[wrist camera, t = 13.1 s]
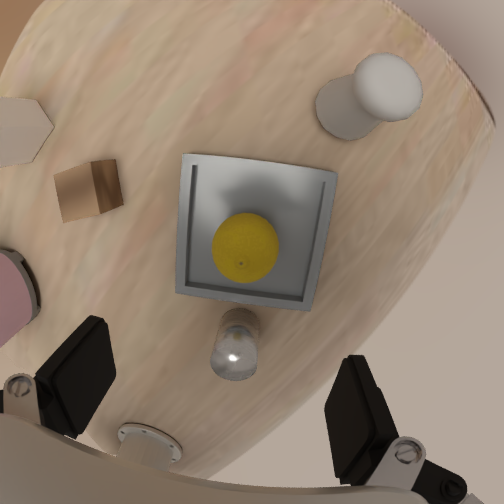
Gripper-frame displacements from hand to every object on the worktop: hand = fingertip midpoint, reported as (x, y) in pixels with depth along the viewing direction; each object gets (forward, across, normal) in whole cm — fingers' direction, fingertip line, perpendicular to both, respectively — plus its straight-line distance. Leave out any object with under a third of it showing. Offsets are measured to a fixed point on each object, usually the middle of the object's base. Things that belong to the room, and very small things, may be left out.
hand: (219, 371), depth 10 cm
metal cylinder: (+20, 0, +10) cm, 22 cm away
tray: (+20, 0, 0) cm, 20 cm away
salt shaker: (+20, -7, -14) cm, 25 cm away
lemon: (+19, 0, 0) cm, 19 cm away
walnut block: (+20, +17, -4) cm, 26 cm away
